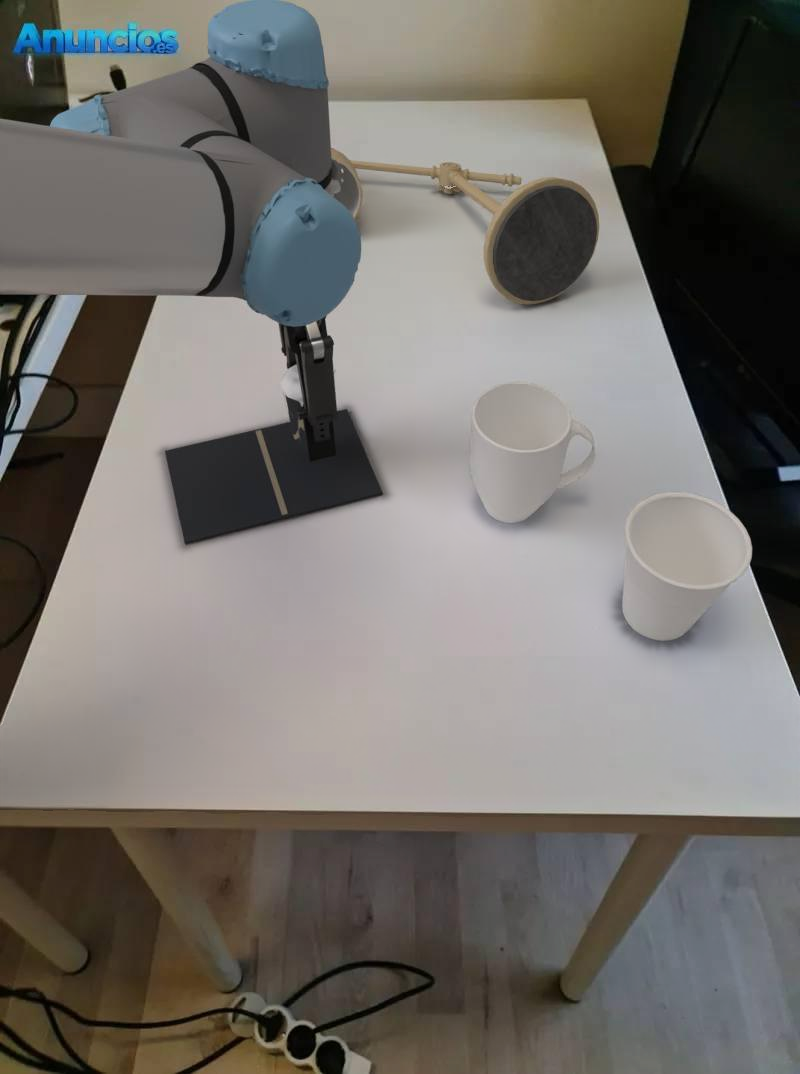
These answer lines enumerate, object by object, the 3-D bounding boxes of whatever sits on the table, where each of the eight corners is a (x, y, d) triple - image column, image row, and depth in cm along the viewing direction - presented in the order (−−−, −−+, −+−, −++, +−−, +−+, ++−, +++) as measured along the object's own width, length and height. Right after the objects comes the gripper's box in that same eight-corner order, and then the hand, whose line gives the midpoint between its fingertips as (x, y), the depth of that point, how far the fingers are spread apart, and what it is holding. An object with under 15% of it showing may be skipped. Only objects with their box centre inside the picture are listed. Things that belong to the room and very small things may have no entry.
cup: (603, 561, 78) (627, 483, 70) (711, 578, 77) (749, 501, 68) (597, 650, 72) (622, 577, 64) (714, 671, 71) (756, 598, 62)
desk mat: (185, 544, 80) (184, 541, 80) (165, 453, 88) (164, 450, 87) (382, 494, 84) (382, 491, 83) (347, 411, 92) (346, 408, 91)
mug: (469, 539, 80) (477, 452, 71) (460, 472, 86) (467, 383, 76) (589, 534, 80) (613, 447, 71) (573, 468, 86) (593, 378, 77)
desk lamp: (626, 176, 96) (479, 96, 124) (339, 196, 85) (250, 103, 114) (599, 298, 105) (468, 198, 134) (339, 330, 95) (257, 214, 123)
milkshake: (335, 461, 83) (329, 387, 75) (283, 454, 83) (272, 379, 75) (345, 429, 85) (341, 354, 77) (295, 421, 86) (285, 346, 78)
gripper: (366, 280, 62) (376, 490, 80) (308, 170, 72) (329, 378, 90) (267, 300, 60) (300, 510, 78) (222, 184, 70) (261, 393, 89)
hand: (315, 439), depth 84 cm, fingers closed on milkshake, 4 cm apart
